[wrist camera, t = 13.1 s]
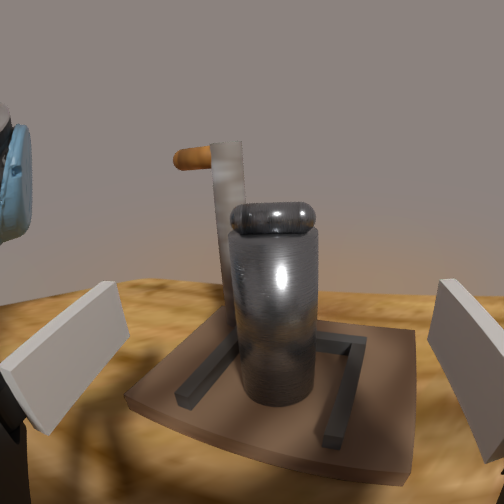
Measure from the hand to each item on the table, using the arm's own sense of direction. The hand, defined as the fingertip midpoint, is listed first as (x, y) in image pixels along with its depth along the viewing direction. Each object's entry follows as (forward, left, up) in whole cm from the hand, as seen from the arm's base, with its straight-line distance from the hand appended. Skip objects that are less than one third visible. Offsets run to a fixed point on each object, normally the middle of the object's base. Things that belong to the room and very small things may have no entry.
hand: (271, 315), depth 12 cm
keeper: (-2, +6, -10) cm, 12 cm away
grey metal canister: (-2, +5, -8) cm, 10 cm away
